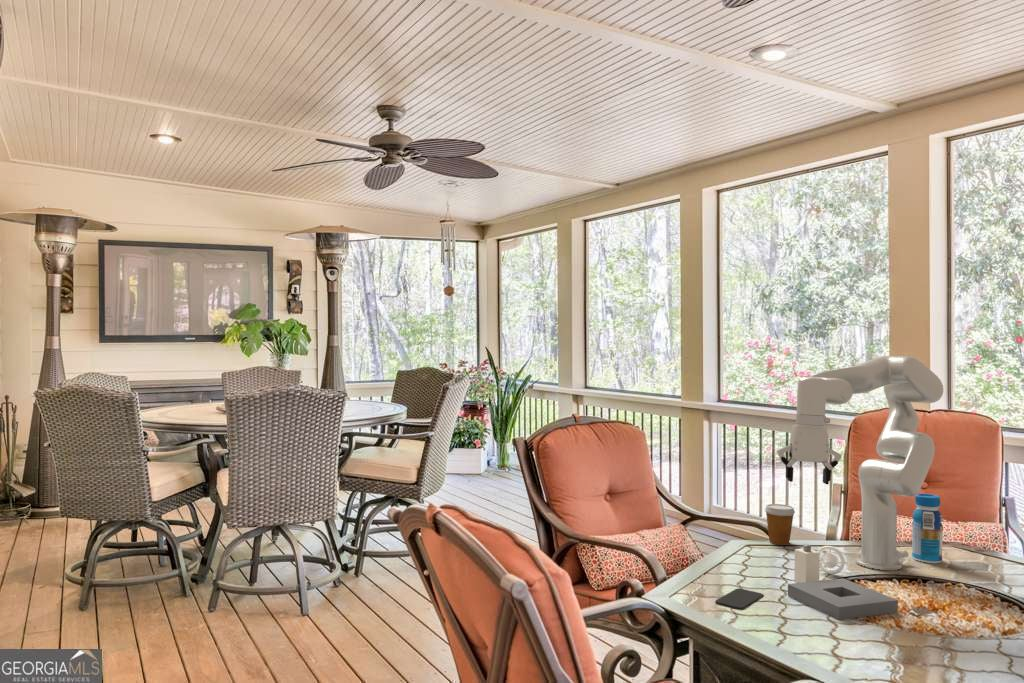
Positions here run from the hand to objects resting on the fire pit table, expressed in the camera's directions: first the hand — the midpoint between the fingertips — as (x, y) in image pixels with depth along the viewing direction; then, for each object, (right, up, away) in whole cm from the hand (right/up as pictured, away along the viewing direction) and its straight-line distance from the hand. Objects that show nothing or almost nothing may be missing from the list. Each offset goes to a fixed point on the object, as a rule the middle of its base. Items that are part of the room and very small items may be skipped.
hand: (807, 482), depth 207 cm
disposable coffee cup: (+6, -28, +40) cm, 49 cm away
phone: (-25, -27, -18) cm, 41 cm away
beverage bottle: (+45, -28, +21) cm, 57 cm away
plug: (-2, -27, -4) cm, 27 cm away
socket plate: (0, -27, -20) cm, 34 cm away
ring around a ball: (+8, -28, +4) cm, 29 cm away
